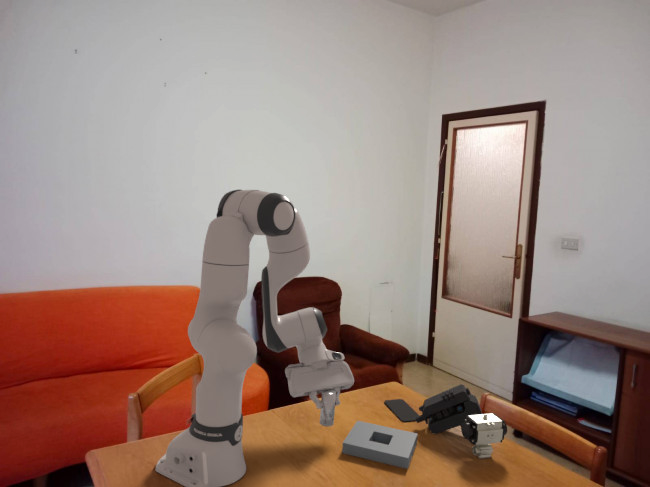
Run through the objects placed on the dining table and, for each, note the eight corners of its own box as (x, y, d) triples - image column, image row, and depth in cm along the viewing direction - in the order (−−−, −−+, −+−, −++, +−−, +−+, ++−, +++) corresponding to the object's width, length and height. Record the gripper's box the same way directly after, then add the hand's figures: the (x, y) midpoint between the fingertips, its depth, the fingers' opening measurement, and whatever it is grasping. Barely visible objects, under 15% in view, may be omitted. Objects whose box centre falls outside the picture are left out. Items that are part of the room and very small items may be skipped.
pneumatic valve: (458, 453, 133) (461, 412, 132) (495, 449, 136) (498, 408, 135) (469, 464, 128) (472, 421, 127) (507, 459, 131) (511, 418, 130)
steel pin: (317, 424, 135) (319, 393, 134) (322, 418, 139) (324, 388, 138) (330, 427, 134) (333, 396, 133) (335, 421, 137) (337, 391, 137)
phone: (402, 421, 150) (383, 400, 164) (402, 424, 150) (382, 402, 164) (423, 419, 152) (402, 398, 166) (423, 421, 152) (402, 401, 166)
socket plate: (342, 453, 130) (342, 442, 130) (356, 430, 144) (357, 420, 143) (407, 469, 124) (408, 458, 124) (416, 443, 137) (417, 433, 137)
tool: (492, 433, 139) (469, 387, 139) (431, 455, 144) (409, 411, 144) (489, 423, 145) (467, 379, 145) (431, 445, 150) (410, 402, 150)
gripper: (287, 360, 135) (300, 407, 128) (347, 353, 146) (363, 396, 138) (279, 370, 140) (292, 416, 132) (339, 362, 150) (353, 405, 142)
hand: (329, 406), depth 135 cm, fingers closed on steel pin, 4 cm apart
